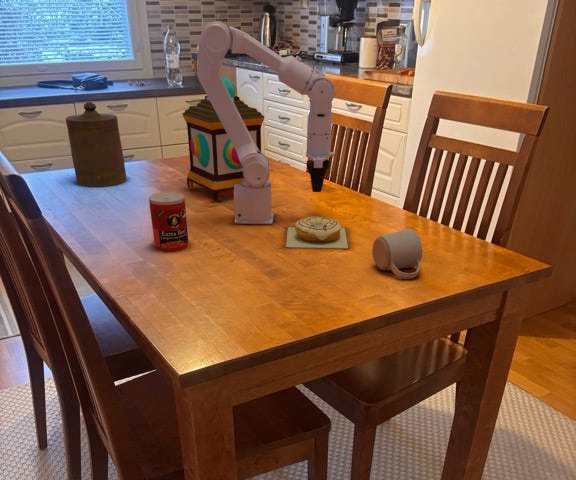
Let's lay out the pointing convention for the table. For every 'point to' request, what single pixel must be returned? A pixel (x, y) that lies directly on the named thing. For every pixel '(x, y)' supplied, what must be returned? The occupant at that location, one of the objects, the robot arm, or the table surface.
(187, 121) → the decorative lantern
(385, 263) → the ceramic mug
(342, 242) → the placemat
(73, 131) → the wooden container
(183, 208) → the canned food
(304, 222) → the decorated donut
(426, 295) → the table surface
